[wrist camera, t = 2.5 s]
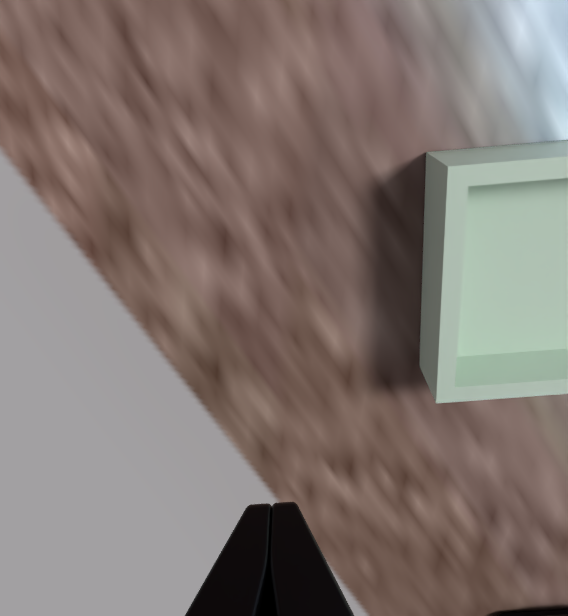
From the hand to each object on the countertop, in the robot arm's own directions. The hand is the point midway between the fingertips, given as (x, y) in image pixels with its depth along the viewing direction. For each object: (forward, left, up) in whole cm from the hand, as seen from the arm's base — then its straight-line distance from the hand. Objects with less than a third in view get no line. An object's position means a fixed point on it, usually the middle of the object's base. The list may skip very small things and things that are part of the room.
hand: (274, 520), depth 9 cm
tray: (0, -11, -11) cm, 15 cm away
